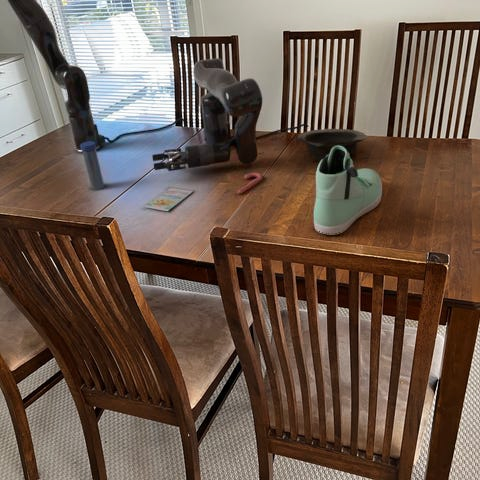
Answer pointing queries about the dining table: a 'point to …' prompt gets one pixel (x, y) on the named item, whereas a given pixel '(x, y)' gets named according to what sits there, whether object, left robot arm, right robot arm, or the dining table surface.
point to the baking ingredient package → (168, 199)
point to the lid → (88, 146)
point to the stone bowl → (330, 141)
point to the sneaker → (343, 192)
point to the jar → (93, 169)
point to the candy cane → (250, 182)
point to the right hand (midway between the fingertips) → (153, 162)
